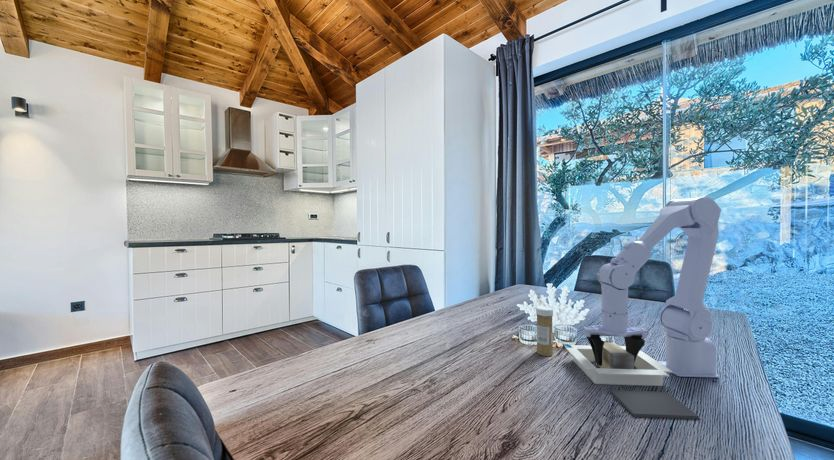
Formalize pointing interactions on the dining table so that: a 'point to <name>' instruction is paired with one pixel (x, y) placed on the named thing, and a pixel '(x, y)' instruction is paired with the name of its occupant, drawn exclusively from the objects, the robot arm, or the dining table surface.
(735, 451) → the dining table surface
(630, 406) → the rubber mat
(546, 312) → the sprinkles bottle
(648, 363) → the white flat frame
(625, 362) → the birch block
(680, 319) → the robot arm
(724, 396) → the dining table surface
